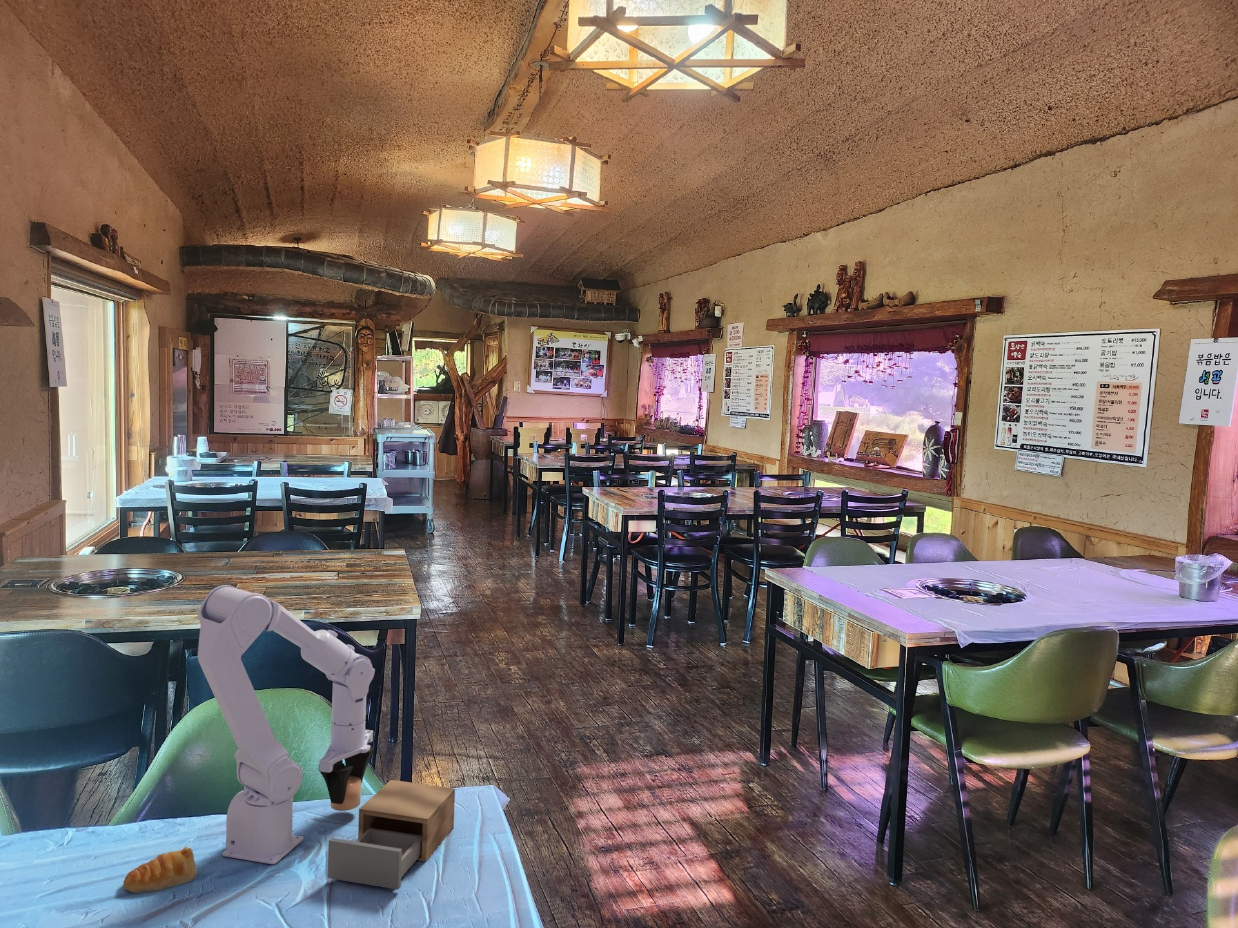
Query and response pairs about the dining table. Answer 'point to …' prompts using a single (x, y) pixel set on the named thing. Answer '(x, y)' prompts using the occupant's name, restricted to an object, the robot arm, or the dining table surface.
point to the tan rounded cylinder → (350, 795)
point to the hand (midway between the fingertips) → (345, 795)
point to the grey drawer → (374, 857)
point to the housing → (411, 812)
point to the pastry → (162, 872)
